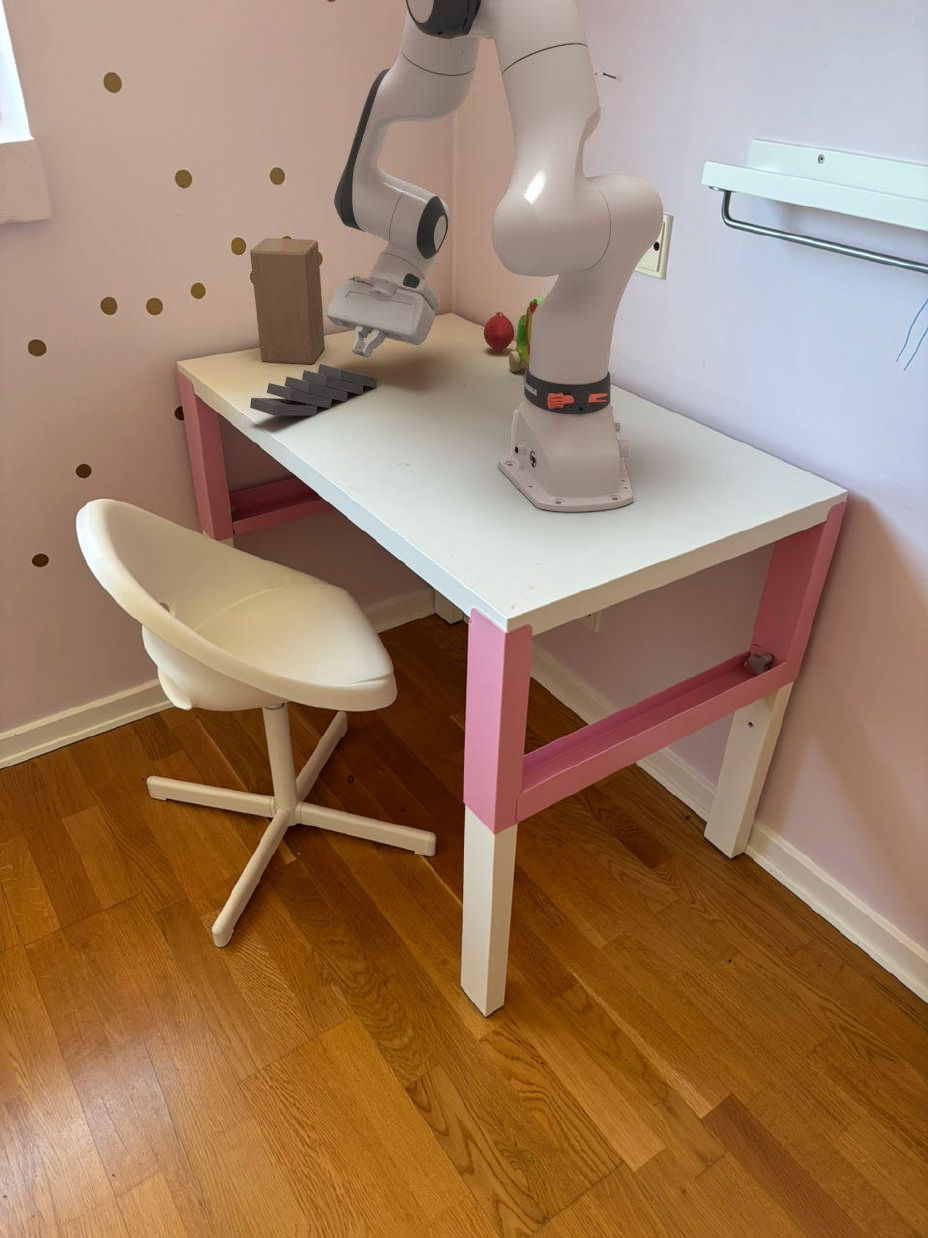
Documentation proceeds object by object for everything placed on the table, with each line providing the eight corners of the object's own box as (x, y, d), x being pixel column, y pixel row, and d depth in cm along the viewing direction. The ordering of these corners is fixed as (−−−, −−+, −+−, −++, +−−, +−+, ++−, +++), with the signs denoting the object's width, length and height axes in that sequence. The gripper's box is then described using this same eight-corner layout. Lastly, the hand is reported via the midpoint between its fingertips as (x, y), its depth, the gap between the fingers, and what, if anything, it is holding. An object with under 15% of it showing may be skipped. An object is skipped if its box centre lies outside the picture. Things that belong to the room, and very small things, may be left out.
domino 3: (325, 385, 163) (286, 376, 154) (347, 392, 160) (309, 382, 152) (323, 395, 163) (284, 386, 154) (345, 402, 161) (307, 393, 152)
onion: (481, 347, 186) (482, 305, 181) (510, 346, 186) (512, 305, 182) (485, 357, 181) (486, 314, 176) (515, 356, 182) (517, 314, 177)
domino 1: (294, 398, 158) (251, 397, 149) (317, 405, 155) (274, 404, 147) (293, 408, 158) (249, 408, 150) (315, 415, 156) (272, 415, 148)
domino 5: (356, 372, 168) (319, 363, 160) (378, 378, 166) (341, 369, 157) (354, 382, 169) (317, 373, 160) (375, 388, 166) (339, 379, 158)
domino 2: (309, 392, 160) (268, 382, 151) (332, 398, 158) (291, 389, 149) (307, 401, 160) (266, 393, 152) (329, 408, 158) (289, 400, 149)
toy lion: (506, 368, 176) (509, 284, 168) (534, 366, 177) (539, 282, 169) (532, 399, 163) (537, 309, 155) (562, 396, 164) (569, 307, 156)
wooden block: (325, 347, 184) (318, 239, 173) (313, 364, 176) (305, 252, 165) (275, 345, 185) (264, 237, 174) (260, 362, 177) (249, 249, 165)
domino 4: (341, 379, 166) (303, 369, 157) (363, 385, 163) (326, 376, 155) (339, 388, 166) (301, 379, 157) (361, 395, 164) (324, 386, 155)
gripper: (339, 263, 167) (305, 332, 166) (432, 283, 157) (397, 356, 156) (357, 284, 172) (324, 351, 171) (448, 304, 163) (414, 375, 161)
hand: (359, 354), depth 163 cm, fingers closed
